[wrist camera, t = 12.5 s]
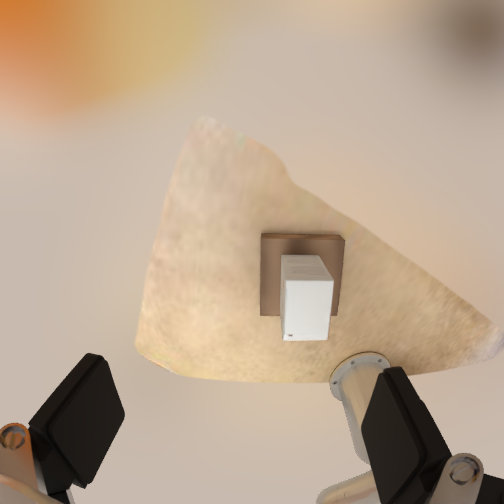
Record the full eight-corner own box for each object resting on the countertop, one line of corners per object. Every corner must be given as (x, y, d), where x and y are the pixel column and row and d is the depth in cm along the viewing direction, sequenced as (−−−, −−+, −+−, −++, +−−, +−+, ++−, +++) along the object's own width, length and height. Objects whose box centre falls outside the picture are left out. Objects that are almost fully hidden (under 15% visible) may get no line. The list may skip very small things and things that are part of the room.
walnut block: (338, 234, 44) (344, 240, 40) (331, 304, 47) (336, 315, 44) (261, 232, 45) (260, 238, 41) (260, 304, 48) (260, 315, 44)
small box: (315, 304, 43) (328, 342, 33) (279, 304, 44) (282, 342, 33) (319, 253, 41) (336, 280, 31) (280, 253, 41) (285, 280, 31)
